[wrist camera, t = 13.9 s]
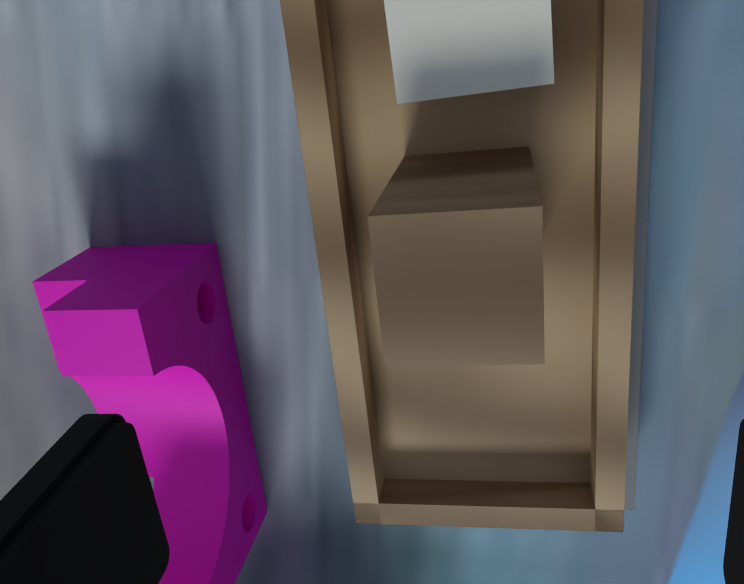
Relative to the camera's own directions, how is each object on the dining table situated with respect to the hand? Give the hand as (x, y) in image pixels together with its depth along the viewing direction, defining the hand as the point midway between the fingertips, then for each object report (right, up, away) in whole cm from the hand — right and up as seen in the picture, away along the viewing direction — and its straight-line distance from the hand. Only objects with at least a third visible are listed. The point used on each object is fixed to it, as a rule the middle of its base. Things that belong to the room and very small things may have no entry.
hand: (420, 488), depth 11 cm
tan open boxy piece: (+3, +7, +14) cm, 16 cm away
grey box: (+2, +12, +10) cm, 15 cm away
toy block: (-10, -2, +24) cm, 26 cm away
